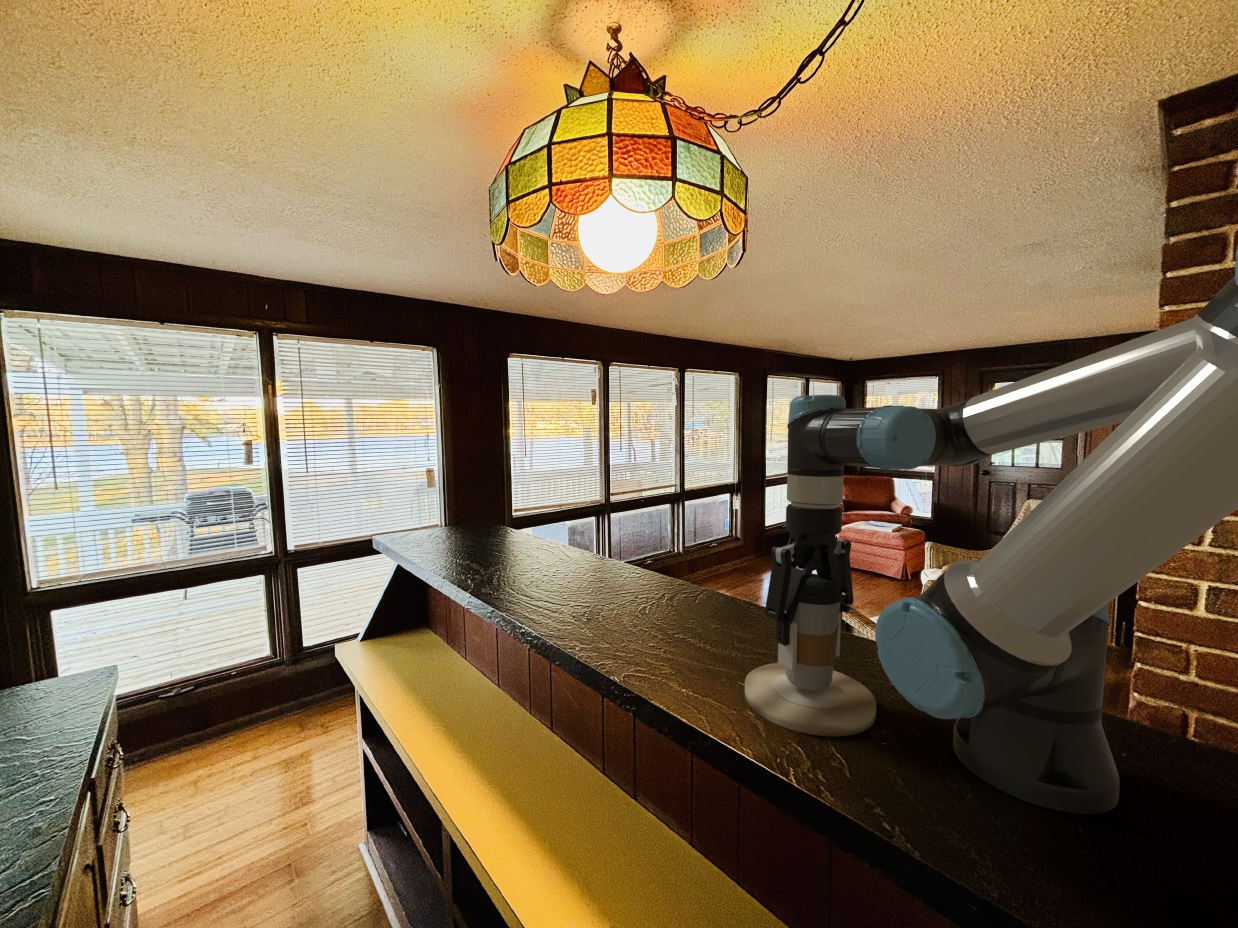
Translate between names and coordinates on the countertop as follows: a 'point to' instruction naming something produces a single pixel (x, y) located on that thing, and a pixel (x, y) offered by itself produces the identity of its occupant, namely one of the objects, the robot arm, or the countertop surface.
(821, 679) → the coffee cup
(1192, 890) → the countertop surface
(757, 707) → the cream round saucer
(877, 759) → the countertop surface
